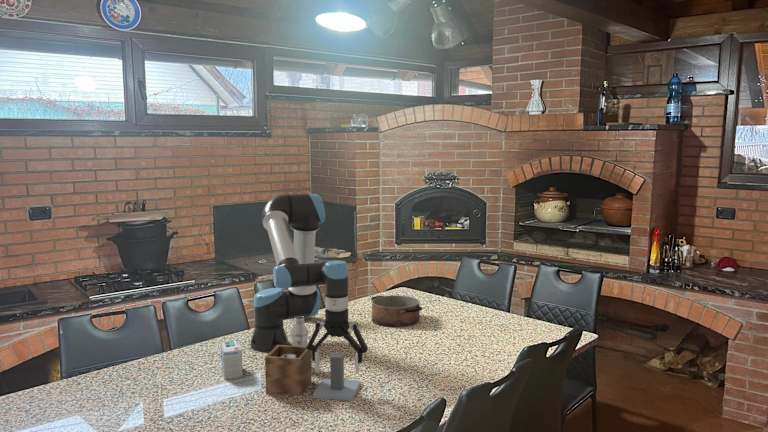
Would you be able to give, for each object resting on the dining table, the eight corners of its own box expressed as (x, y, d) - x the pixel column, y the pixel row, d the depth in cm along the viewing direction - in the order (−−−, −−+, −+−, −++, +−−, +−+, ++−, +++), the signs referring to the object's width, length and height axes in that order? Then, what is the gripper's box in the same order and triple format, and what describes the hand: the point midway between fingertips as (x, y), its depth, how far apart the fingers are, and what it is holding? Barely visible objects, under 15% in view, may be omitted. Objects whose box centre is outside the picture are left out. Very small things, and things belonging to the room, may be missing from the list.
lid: (312, 400, 182) (312, 361, 181) (323, 384, 195) (323, 347, 193) (352, 403, 180) (352, 363, 179) (360, 386, 193) (360, 349, 191)
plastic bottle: (292, 374, 205) (291, 320, 203) (290, 367, 211) (289, 315, 209) (310, 372, 207) (309, 319, 204) (307, 365, 213) (306, 314, 211)
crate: (266, 396, 186) (265, 357, 185) (278, 382, 198) (277, 344, 196) (301, 399, 184) (300, 359, 183) (311, 384, 196) (310, 346, 195)
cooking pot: (357, 320, 270) (357, 299, 269) (392, 312, 285) (392, 291, 284) (399, 336, 248) (399, 312, 246) (435, 326, 262) (435, 303, 261)
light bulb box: (221, 370, 209) (220, 342, 207) (239, 368, 211) (238, 340, 210) (223, 381, 199) (222, 351, 198) (243, 378, 201) (242, 349, 200)
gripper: (296, 309, 182) (297, 373, 185) (372, 313, 179) (372, 377, 181) (303, 303, 190) (304, 364, 192) (376, 307, 186) (376, 369, 188)
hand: (337, 371), depth 187 cm, fingers open, 13 cm apart
